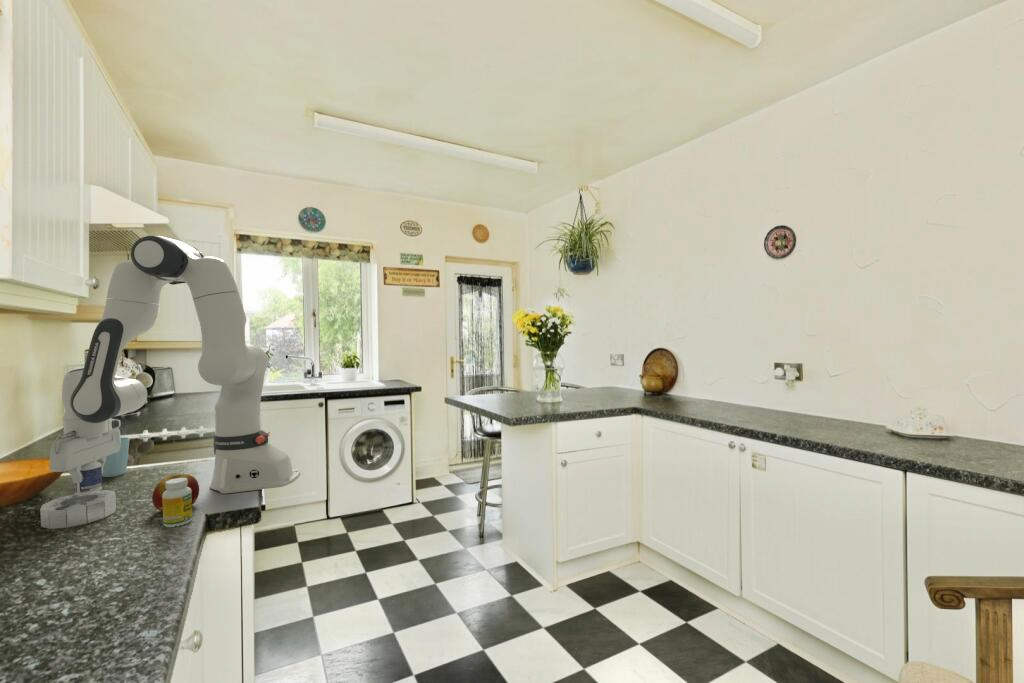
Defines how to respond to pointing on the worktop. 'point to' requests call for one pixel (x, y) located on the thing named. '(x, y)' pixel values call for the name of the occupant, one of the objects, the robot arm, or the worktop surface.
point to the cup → (117, 460)
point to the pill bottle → (90, 477)
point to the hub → (77, 509)
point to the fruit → (161, 489)
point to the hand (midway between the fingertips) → (88, 478)
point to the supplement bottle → (177, 503)
